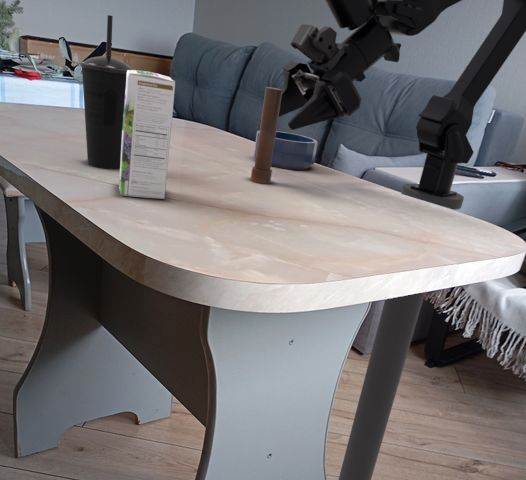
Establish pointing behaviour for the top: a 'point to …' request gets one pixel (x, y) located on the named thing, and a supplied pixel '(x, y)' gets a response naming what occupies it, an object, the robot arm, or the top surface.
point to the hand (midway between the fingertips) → (278, 122)
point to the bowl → (292, 151)
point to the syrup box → (146, 134)
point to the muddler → (267, 136)
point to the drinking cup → (104, 105)
